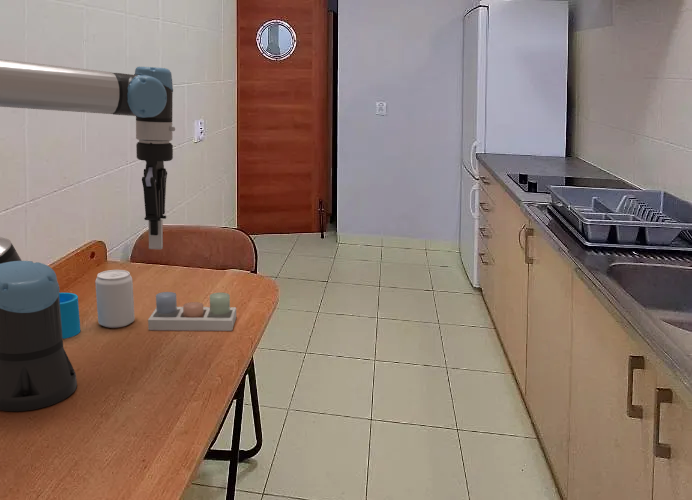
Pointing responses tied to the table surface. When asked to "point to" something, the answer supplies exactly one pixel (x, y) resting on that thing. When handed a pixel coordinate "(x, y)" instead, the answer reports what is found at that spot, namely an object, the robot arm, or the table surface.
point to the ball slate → (166, 302)
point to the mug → (69, 314)
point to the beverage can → (115, 298)
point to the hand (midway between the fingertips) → (155, 248)
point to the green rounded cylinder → (219, 303)
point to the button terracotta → (193, 310)
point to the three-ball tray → (192, 321)
